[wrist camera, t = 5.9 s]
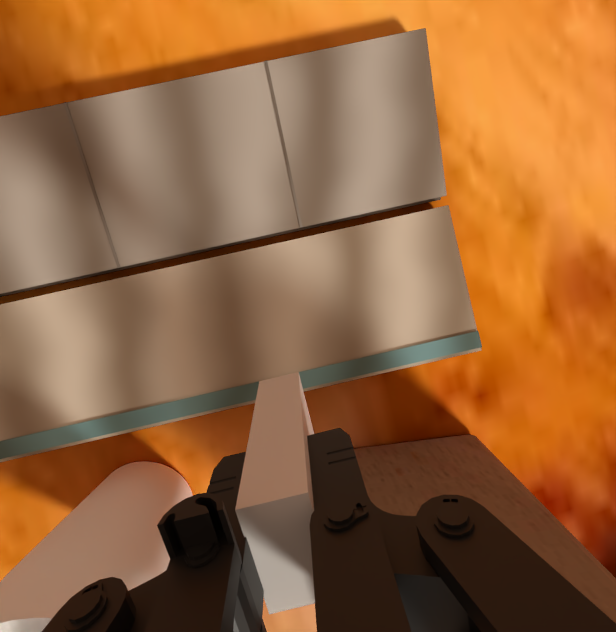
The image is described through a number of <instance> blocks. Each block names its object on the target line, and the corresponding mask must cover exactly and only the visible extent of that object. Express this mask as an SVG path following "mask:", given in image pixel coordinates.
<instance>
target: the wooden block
mask: <svg viewBox="0 0 616 632" xmlns="http://www.w3.org/2000/svg"><path fill="white" fill-rule="evenodd" d="M354 452H355V455H356V458H357V462H358V465H359V468H360V471H361V475H362V478H363V481H364V484H365V488H366V491H367V494H368V496H369V498H370V500H371V502H372V503H373V504H374V505H375V506H376V507H378V508H379V509H381V510H383V511H385V512H388V513H391V514H395V515H404V516H416V515H417V512H418V511H419V509H420V507H421V505H422V504H424V503H425V502H426V501H428V500H429V499H431V498H433V497H437V496H440V495H460V496H464V497H467V498H471V499H473V500H474V501H476V502H478V503H479V504H481V505H482V506H484V507H485V508H486V509H487V510H488V511H489V512H491V513H492V514H493V515H494V516H495V517H496V518H497V519H498V520H500V521H501V522H502V523H503V524H504V525H505V526H506V527H507V528H509V529H510V530H511V531H512V532H513V533H514V534H515V535H517V536H518V537H519V538H520V539H521V540H522V541H523V542H524V543H526V544H527V545H528V546H529V547H530V548H531V549H532V550H533V551H535V552H536V553H537V554H538V555H539V556H540V557H541V558H543V559H544V560H545V561H546V562H547V563H548V564H549V565H550V566H552V567H553V568H554V569H555V570H556V571H557V572H558V573H559V574H561V575H562V576H563V577H564V578H565V579H566V580H567V581H569V582H570V583H571V584H572V585H573V586H574V587H575V588H576V589H578V590H579V591H580V592H581V593H582V594H583V595H584V596H585V597H587V598H588V599H589V600H590V601H591V602H592V603H593V604H595V605H596V606H597V607H598V608H599V609H600V610H601V611H602V612H604V613H605V614H606V615H607V616H608V617H609V618H610V619H611V620H613V621H614V622H615V623H616V579H615V577H614V576H613V575H612V574H611V573H610V572H609V571H608V570H607V569H606V568H605V567H604V566H603V565H602V564H601V563H600V562H599V561H598V560H597V559H596V558H595V557H594V556H593V555H592V554H591V553H590V552H589V551H588V550H587V549H586V548H585V547H584V546H583V545H582V544H581V543H580V542H579V541H578V540H577V539H576V538H575V537H574V536H573V535H572V534H571V533H570V532H569V531H568V530H567V529H566V528H565V527H564V526H563V525H562V524H561V523H560V522H559V521H558V520H557V519H556V518H555V517H554V516H553V515H552V514H551V512H550V511H549V510H548V509H547V508H546V507H545V506H544V505H543V504H542V503H541V502H540V501H539V500H538V499H537V498H536V497H535V496H534V495H533V494H532V493H531V492H530V491H529V490H528V489H527V488H526V487H525V486H524V485H523V484H522V483H521V482H520V481H519V480H518V479H517V478H516V477H515V476H514V475H513V474H512V473H511V472H510V471H509V470H508V469H507V468H506V467H505V466H504V465H503V464H502V463H501V462H500V461H499V460H498V459H497V458H496V457H495V456H494V455H493V454H492V453H491V452H490V451H489V450H488V449H487V448H486V446H485V445H484V444H483V443H482V442H481V441H480V440H479V439H478V438H477V437H476V436H473V435H469V434H468V435H460V436H452V437H444V438H436V439H428V440H419V441H411V442H403V443H395V444H387V445H379V446H371V447H363V448H355V449H354Z"/></svg>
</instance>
